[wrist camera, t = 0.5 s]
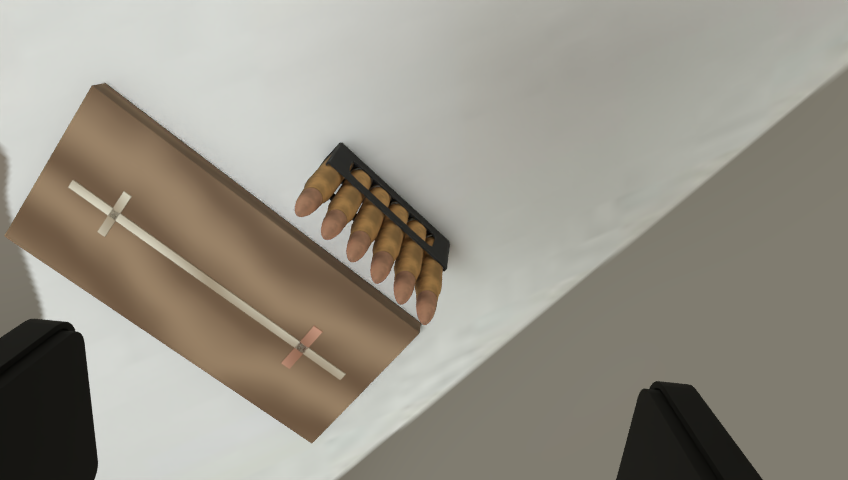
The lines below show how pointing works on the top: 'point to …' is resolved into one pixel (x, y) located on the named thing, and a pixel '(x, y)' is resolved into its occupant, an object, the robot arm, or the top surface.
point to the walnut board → (207, 267)
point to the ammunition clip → (378, 228)
